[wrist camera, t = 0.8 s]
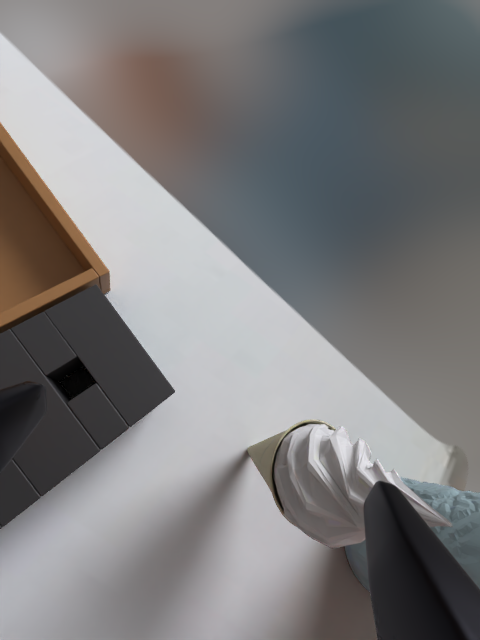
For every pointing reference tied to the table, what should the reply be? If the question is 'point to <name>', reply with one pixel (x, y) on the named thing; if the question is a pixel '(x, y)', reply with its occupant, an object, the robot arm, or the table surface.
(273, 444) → the ice cream cone
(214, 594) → the table surface
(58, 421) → the holder
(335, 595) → the table surface
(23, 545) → the table surface
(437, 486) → the grey blue pot
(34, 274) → the tray
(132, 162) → the table surface
